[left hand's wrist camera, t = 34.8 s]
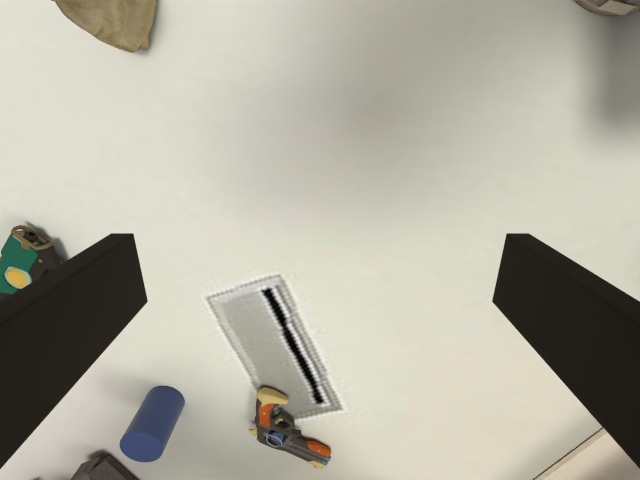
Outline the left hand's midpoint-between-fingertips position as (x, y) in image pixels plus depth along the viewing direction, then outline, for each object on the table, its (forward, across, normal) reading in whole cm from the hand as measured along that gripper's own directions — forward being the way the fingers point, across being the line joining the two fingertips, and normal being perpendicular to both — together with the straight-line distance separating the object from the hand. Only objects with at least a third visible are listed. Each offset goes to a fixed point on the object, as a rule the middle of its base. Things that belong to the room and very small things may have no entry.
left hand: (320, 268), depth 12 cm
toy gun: (+33, -4, -46) cm, 57 cm away
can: (+33, -26, -41) cm, 58 cm away
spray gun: (+33, -41, -19) cm, 55 cm away
